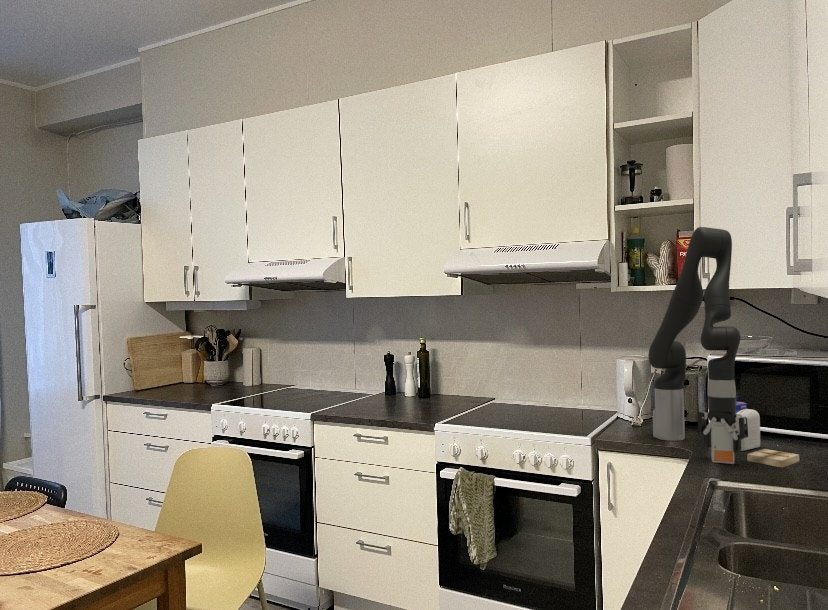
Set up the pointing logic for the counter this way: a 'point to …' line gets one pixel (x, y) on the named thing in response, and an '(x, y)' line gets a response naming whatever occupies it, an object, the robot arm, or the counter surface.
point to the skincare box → (721, 443)
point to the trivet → (773, 458)
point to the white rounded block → (750, 429)
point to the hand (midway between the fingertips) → (722, 449)
